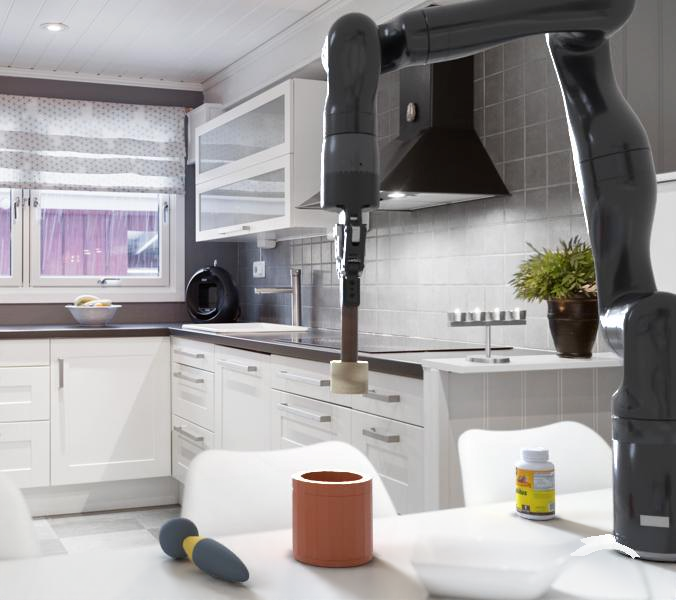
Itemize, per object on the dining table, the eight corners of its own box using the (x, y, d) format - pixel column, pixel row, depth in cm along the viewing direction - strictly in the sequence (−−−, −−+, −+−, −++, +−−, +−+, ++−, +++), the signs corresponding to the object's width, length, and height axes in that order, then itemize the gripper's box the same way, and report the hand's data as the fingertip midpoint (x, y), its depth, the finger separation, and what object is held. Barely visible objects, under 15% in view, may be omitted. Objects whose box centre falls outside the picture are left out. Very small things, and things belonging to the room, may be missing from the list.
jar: (366, 545, 109) (365, 469, 110) (378, 567, 99) (377, 483, 100) (290, 545, 110) (290, 469, 110) (295, 567, 100) (294, 483, 100)
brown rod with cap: (365, 391, 109) (365, 269, 109) (370, 394, 104) (371, 267, 104) (328, 391, 109) (329, 269, 109) (332, 394, 104) (332, 267, 104)
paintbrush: (273, 582, 94) (272, 538, 94) (238, 591, 91) (238, 545, 91) (174, 546, 109) (174, 508, 109) (142, 553, 106) (142, 514, 106)
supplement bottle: (511, 512, 128) (510, 446, 129) (548, 512, 128) (546, 446, 129) (522, 520, 123) (521, 451, 123) (560, 521, 123) (559, 451, 123)
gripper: (388, 163, 100) (387, 306, 100) (371, 183, 114) (371, 308, 113) (326, 163, 100) (325, 305, 100) (317, 183, 114) (316, 308, 114)
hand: (349, 306), depth 107 cm, fingers closed on brown rod with cap
